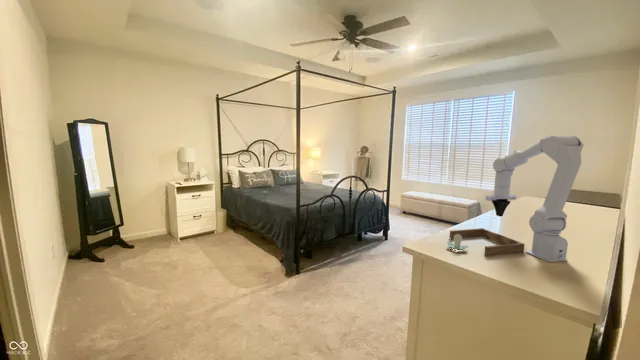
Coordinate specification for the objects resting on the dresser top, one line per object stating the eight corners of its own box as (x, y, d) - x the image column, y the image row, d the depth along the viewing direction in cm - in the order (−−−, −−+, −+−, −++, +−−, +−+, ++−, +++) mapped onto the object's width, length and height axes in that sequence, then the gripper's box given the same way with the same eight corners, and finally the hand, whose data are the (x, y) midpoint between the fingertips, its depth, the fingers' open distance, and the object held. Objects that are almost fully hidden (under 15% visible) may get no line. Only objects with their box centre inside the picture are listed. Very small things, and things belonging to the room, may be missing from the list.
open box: (523, 252, 105) (524, 243, 104) (486, 256, 101) (487, 247, 100) (481, 235, 124) (482, 228, 123) (449, 238, 120) (449, 230, 120)
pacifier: (465, 255, 102) (468, 250, 107) (466, 239, 101) (469, 235, 106) (444, 250, 107) (448, 246, 111) (445, 235, 106) (449, 231, 110)
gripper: (507, 184, 126) (504, 212, 128) (481, 184, 123) (478, 214, 124) (522, 186, 119) (518, 216, 121) (494, 187, 116) (491, 218, 118)
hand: (499, 215), depth 122 cm, fingers closed
